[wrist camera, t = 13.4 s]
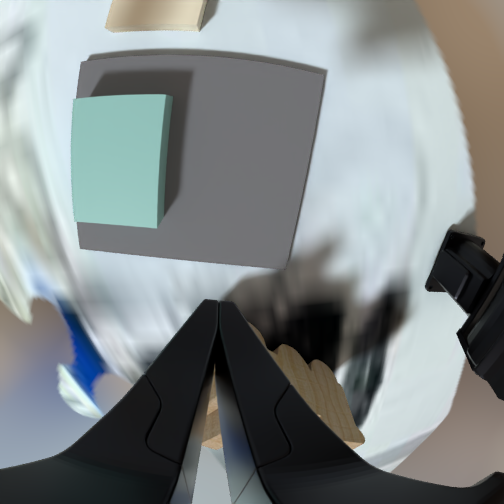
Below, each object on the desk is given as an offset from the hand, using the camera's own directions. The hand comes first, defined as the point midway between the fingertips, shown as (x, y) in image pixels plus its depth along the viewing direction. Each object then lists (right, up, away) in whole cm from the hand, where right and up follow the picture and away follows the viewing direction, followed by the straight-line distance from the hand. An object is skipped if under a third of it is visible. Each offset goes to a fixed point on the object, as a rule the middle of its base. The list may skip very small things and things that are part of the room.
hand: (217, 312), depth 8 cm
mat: (-3, +8, +9) cm, 13 cm away
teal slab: (-4, +7, +8) cm, 11 cm away
